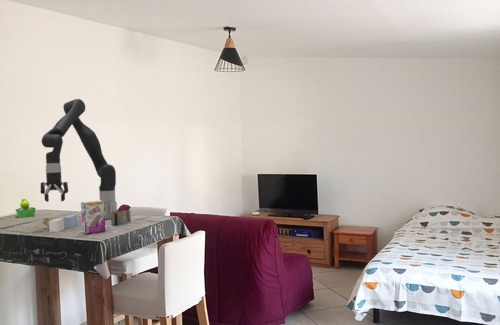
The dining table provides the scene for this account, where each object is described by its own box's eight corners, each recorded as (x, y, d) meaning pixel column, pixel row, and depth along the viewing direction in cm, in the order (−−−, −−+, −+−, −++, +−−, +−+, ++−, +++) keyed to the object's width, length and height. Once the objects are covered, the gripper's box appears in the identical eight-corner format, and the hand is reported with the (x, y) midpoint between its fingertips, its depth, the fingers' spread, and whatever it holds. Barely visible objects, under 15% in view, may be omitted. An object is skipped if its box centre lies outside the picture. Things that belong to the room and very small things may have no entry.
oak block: (57, 225, 283) (56, 215, 283) (51, 228, 275) (50, 217, 275) (49, 226, 283) (49, 215, 283) (43, 228, 275) (42, 218, 275)
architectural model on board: (114, 226, 277) (114, 209, 276) (111, 226, 278) (110, 209, 278) (131, 223, 285) (130, 206, 285) (127, 223, 287) (127, 206, 287)
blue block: (77, 225, 283) (76, 214, 283) (71, 227, 276) (70, 217, 275) (69, 225, 284) (68, 214, 283) (63, 228, 276) (63, 217, 275)
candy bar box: (85, 234, 255) (84, 203, 254) (81, 233, 259) (80, 202, 258) (106, 231, 263) (104, 200, 262) (102, 230, 266) (100, 199, 265)
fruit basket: (16, 218, 311) (15, 200, 311) (15, 216, 319) (14, 199, 318) (36, 216, 317) (35, 199, 316) (34, 214, 325) (33, 197, 324)
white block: (63, 229, 273) (63, 218, 272) (57, 232, 265) (57, 220, 264) (55, 229, 273) (55, 218, 272) (49, 232, 265) (48, 221, 264)
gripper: (69, 170, 270) (70, 200, 271) (43, 171, 271) (45, 200, 272) (63, 171, 263) (64, 202, 264) (37, 172, 263) (38, 202, 264)
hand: (54, 201), depth 268 cm, fingers open, 8 cm apart
